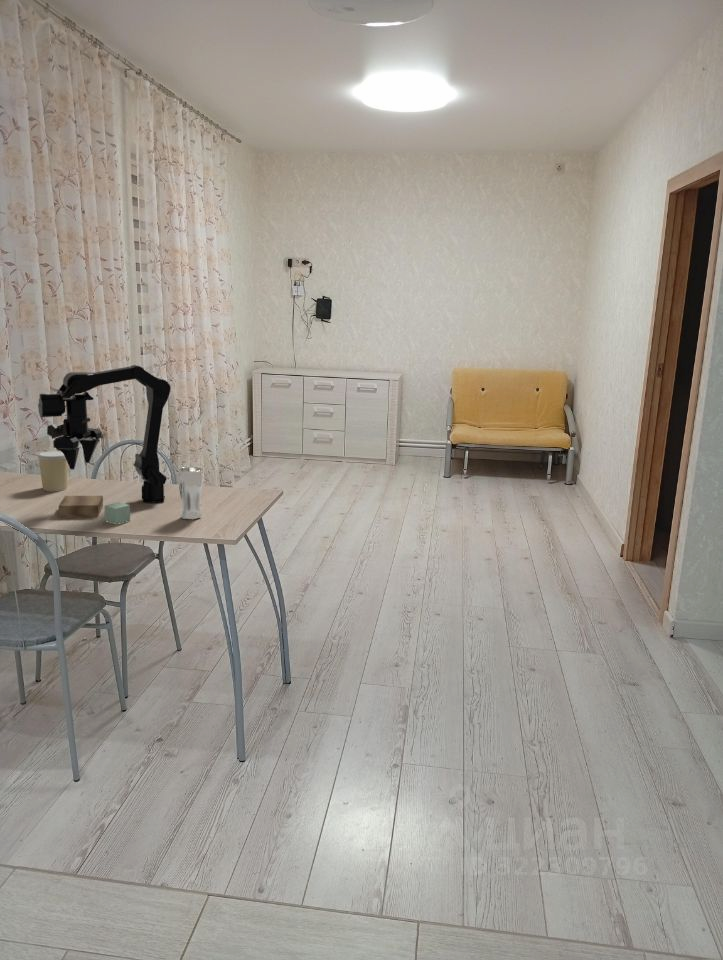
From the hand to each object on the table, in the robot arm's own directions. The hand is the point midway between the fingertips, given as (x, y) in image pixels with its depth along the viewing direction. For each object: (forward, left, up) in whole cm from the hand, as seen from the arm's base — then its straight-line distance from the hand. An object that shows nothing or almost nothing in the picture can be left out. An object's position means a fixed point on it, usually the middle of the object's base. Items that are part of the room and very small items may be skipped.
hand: (79, 465), depth 229 cm
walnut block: (-1, +4, -14) cm, 14 cm away
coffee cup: (+12, -24, -14) cm, 30 cm away
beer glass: (-33, +12, -14) cm, 38 cm away
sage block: (-12, +15, -14) cm, 23 cm away
